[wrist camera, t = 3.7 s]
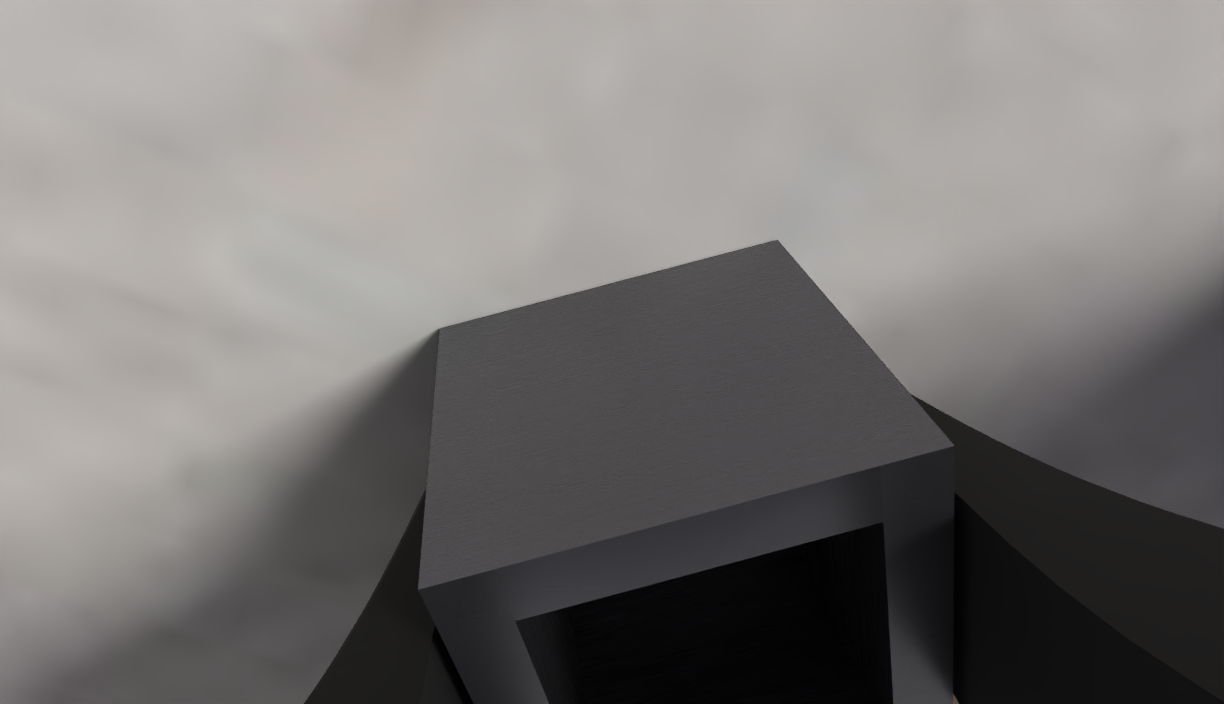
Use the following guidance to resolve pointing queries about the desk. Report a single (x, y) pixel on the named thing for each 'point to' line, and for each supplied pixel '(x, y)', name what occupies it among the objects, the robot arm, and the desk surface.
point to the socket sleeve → (687, 500)
